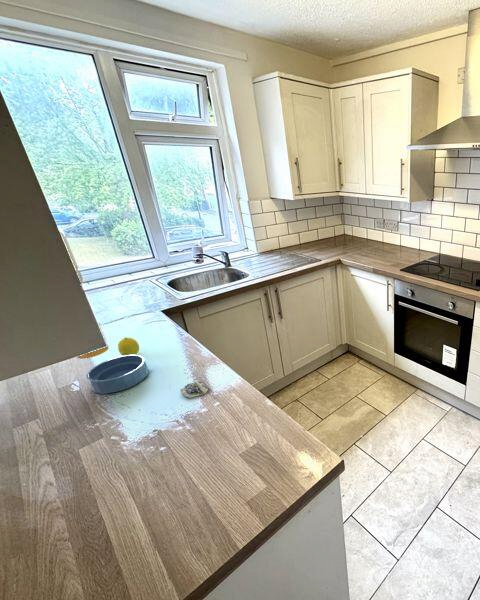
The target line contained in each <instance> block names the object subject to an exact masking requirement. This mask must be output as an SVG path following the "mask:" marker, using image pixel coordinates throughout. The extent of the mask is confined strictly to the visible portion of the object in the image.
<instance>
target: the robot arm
mask: <svg viewBox="0 0 480 600" xmlns="http://www.w3.org/2000/svg"><path fill="white" fill-rule="evenodd" d="M59 230H60V232H61V235H62V237H63V239H64V242H65V244H66V246H67V249H68V252H69V254H70V257H71V259H72V261H73V264H74V266H75V268H76V271H77V273H78V276H79V279H80V281H81V284H80V285H83V284H84V282H85V280H84V278H83V276H82V272H81V270H80V267H79V266H78V263H77V261H76V258H75V256H74V254H73V251H72V249H71V246H70V243H69V240H68V239H67V236H66V235H65V233H64V231H63V230H61V229H59Z"/></svg>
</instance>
